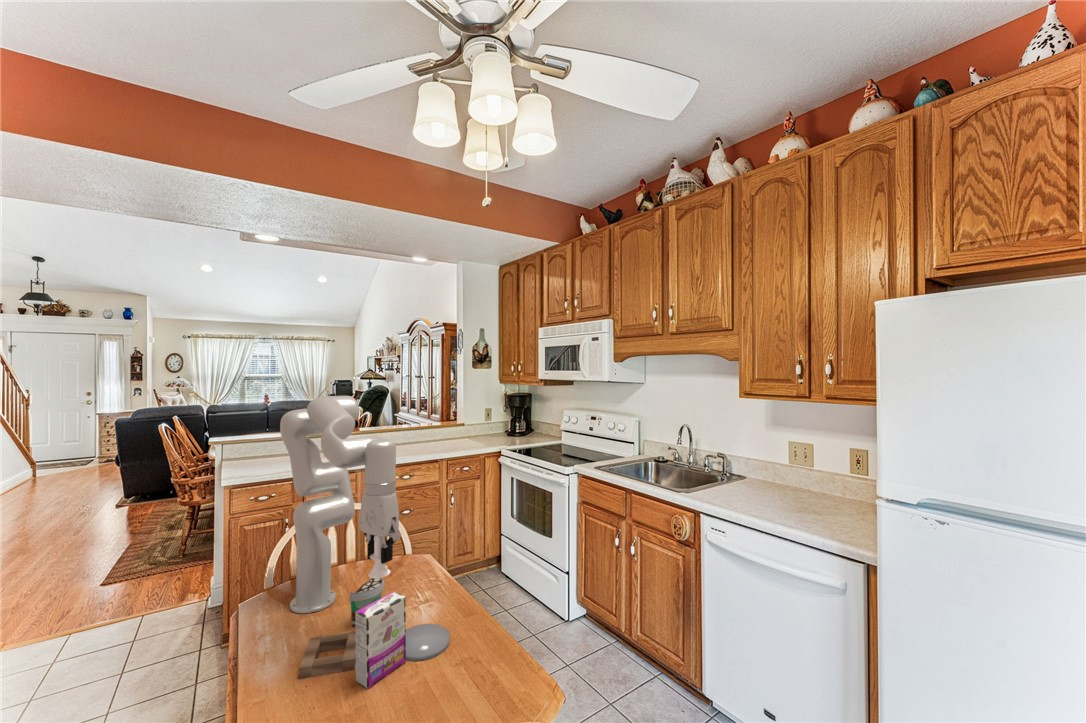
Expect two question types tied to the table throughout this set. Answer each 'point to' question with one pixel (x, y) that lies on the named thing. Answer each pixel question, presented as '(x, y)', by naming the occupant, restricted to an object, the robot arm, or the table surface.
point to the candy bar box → (380, 638)
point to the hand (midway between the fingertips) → (379, 558)
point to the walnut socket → (331, 664)
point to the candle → (378, 561)
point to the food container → (366, 595)
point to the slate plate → (426, 641)
